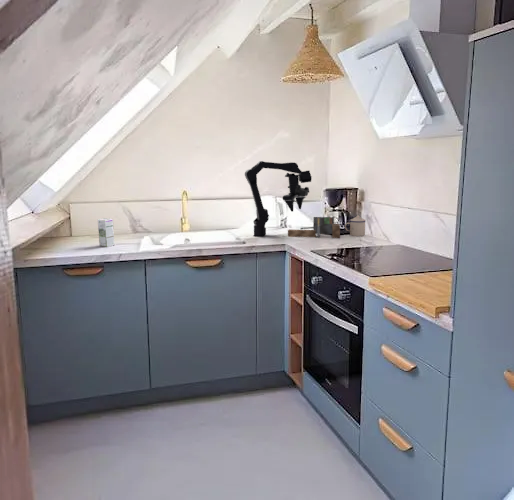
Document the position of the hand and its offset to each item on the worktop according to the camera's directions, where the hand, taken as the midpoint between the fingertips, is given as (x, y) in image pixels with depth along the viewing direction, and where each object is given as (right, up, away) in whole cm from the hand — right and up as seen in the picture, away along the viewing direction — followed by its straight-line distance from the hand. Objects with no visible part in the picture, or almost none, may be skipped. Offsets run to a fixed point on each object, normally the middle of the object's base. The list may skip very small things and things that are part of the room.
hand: (296, 210), depth 298 cm
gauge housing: (+17, -15, -4) cm, 23 cm away
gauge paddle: (+13, -15, -3) cm, 20 cm away
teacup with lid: (+34, -15, -2) cm, 38 cm away
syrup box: (-103, -22, -32) cm, 110 cm away
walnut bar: (+3, -16, -5) cm, 17 cm away
